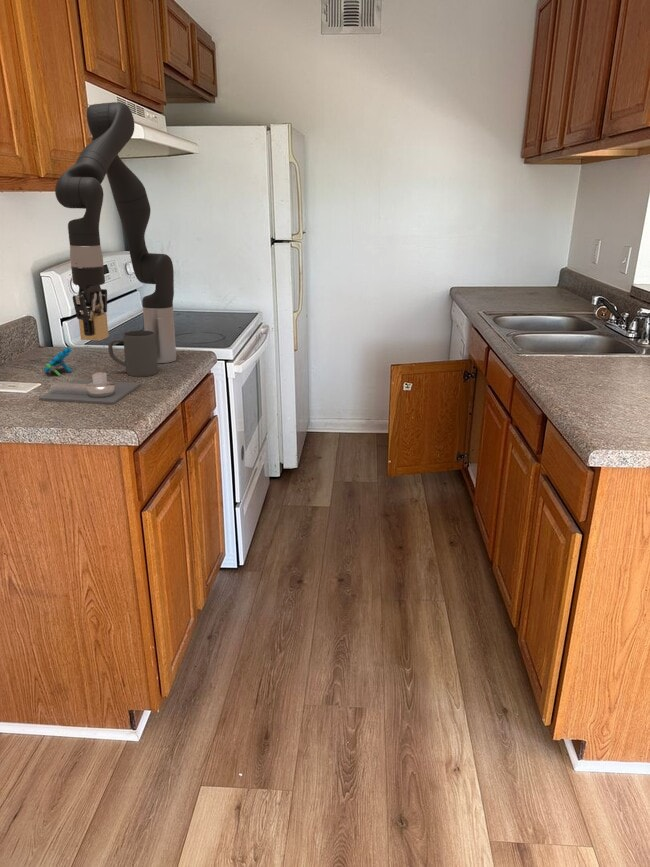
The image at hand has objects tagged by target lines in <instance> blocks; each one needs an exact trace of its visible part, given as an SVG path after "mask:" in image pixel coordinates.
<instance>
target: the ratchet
mask: <svg viewBox="0 0 650 867" xmlns="http://www.w3.org/2000/svg"><path fill="white" fill-rule="evenodd" d="M107 375H108V374H107V373H106V372H94V373H93V374H92V375H91V378H92V381H93V383H90V384H75V383H68V382H55V383H54V384H51V385H50V386H49V388H50V392H51V394H68V395H86V396H88V397H91V398H106V397H110V396H113V395H115V385H114V383H112V382H113V381H109V382H107V381H108V377H107Z"/></svg>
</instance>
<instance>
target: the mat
mask: <svg viewBox="0 0 650 867" xmlns="http://www.w3.org/2000/svg"><path fill="white" fill-rule="evenodd" d="M107 382H110V381H109V380H107ZM111 382H112V383H114V385H115V395H113V396H110V397H106V398H91V397H88V396H86V395H68V394H51V391H48V393H46V394H43V395H42V396H40V397H39V398H38V401H46V402H47V401H48V402H49V401H50V402H65V403H66V402H67V403H81V404H82V403H83V404H85V403H86V404H99V405H115V404H116V403H117V402H119V401H121V400H122V399H124V398H125V397H127V396H128V395H129V394H131V393H132V392H134V391H135V390H136V389H138V388H139V387H141V386H142V382H124V381H111ZM67 383H75V384H90V383H93V380H86V379H72V380H70V381H68V382H67Z"/></svg>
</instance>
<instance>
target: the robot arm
mask: <svg viewBox="0 0 650 867" xmlns="http://www.w3.org/2000/svg"><path fill="white" fill-rule="evenodd" d="M86 121H87V127H88V128H89V133H90V135H91V138H92V141H90V142H89V143H88V144H87V145H86V146H84V148H83V149H82V151H81V152H80V154H79V156H78V157H77V160H76V162H75V164H74V165H72V166H70V167H69V168H68V169H67V170H66V171H65V172H63V173H62V174H61V175H60V176H59V178H58V179H57V182H56V184H55V187H54V188H55V189H54V193H55V198H56V200H57V201H58V203H59V204H60V205H61V206H62V207H64V208H67V209H84V210H85V212H84V215H83V217H79V218H75V219H71V220H70V221H68V224H67V231H68V241H69V260H70V268H71V277H72V283H73V284H74V285H75V286H78V294H77V295H72V301H73V307H74V310H75V314H76V318H77V320H79V319H81V320H83V325H84V334H85V335H86V336H92V335H94V329H93V321H92V317H93V313H106V314H107V312H108V290H107V289H106V288H104V289H103V288H101V285H105V283H106V277H105V276H106V275H105V270H104V269H105V267H104V266H105V265H104V258H103V255H104V254H103V251H102V246H101V238H100V220H101V213H102V208H103V203H104V188H103V186H102V183H103V181H104V179H105V178H106V177H107V180H108V183H109V187H110V189H111V193H112V197H113V201H114V204H115V208H116V210H117V213H118V215H119V219H120V222H121V224H122V228H123V232H124V235H125V238H126V242H127V247H128V250H129V251H128V252H129V256H130V261H131V265H132V268H133V272H134V275H135V277H136V279H137V280H138V282H140V283H141V284H146V285H147V284H148V285H155V287H154V288H155V290H154V291H153V292H152V293H150V294H149V295H148V294H147V295H146V296H144V297H142V301H141V302H142V304H141V305H142V316H143V325H144V326H143V328H144V329H143V330H144V331H152V332H154V333H155V339H156V350H157V364H166V363H167V364H168V363H171V362H172V363H173V362H175V361H176V360H177V348H176V336H175V335H176V333H175V332H176V331H175V319H174V318H175V316H174V303H173V302H174V296H175V289H174V288H175V287H174V284H175V283H174V282H175V281H174V278H175V277H174V275H175V272H174V264H173V261H172V258H171V257H170V255H168V254H166V253H154V252H153V253H152V252H149V251H148V249H147V245H146V238H145V237H146V236H145V234H146V230H147V227H148V224H149V221H150V218H151V217H150V216H151V212H152V211H151V205H150V202H149V201H150V200H149V199H148V198H149V197H148V194H147V190H146V188H145V186H144V184H143V183H142V182H143V181H141V180H140V178H139V177H138V176H137V175H136V174H135V173H134V172H133V171H132V169H130V168H129V167H128V166H127V165H126V164H125V162H124V161H123V160H122V159H121V157H120V156H119V153H120V152H121V151H122V150H123V148H124V147H125V146H126V145H127V144H128V142H130V140H131V139H132V137H133V135H134V133H135V118H134V114H133V113H132V111H131V109H130V107H129V105H128V104H126V103H124V102H118V101H115V102H104V103H103V102H102V103H94V104H90V105H89V106H88V107H87V108H86ZM88 313H89V315H88Z"/></svg>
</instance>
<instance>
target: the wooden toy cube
mask: <svg viewBox="0 0 650 867" xmlns="http://www.w3.org/2000/svg"><path fill="white" fill-rule="evenodd" d="M88 315H89V312H88ZM107 315H108V314H107V312H106V313H93V317H92V321H93V329H94V335H92V336H86V335H85V334H84V325H83V320H81V319H78V324H79V325H78V326H79V335H80V340H83V341H99V342H100V341H102V340H104V339H107V338H109V337H110V336H109V326H108V325H109V324H108V317H107Z"/></svg>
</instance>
